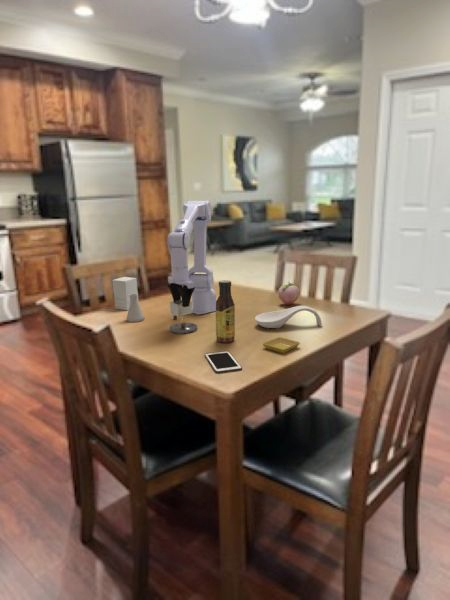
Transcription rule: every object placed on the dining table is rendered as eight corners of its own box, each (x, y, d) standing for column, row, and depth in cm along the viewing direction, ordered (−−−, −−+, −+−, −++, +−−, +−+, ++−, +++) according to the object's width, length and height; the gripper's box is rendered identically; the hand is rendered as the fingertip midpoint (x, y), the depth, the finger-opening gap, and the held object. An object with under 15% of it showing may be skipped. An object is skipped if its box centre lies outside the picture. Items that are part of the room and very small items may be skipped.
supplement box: (139, 306, 195) (137, 277, 192) (127, 310, 189) (124, 281, 186) (126, 304, 199) (124, 276, 196) (114, 308, 193) (111, 279, 190)
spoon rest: (256, 332, 159) (256, 312, 157) (253, 322, 170) (253, 303, 168) (324, 330, 159) (324, 310, 157) (316, 320, 170) (317, 301, 168)
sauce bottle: (228, 344, 146) (227, 284, 141) (212, 341, 149) (210, 282, 145) (239, 338, 152) (237, 280, 147) (223, 335, 155) (221, 278, 150)
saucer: (261, 349, 142) (261, 343, 142) (279, 342, 148) (279, 336, 148) (283, 356, 136) (283, 349, 136) (300, 348, 142) (300, 342, 142)
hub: (188, 323, 170) (187, 312, 168) (202, 330, 162) (202, 317, 160) (164, 329, 164) (163, 317, 163) (178, 335, 156) (177, 323, 155)
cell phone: (216, 375, 124) (215, 371, 124) (204, 356, 138) (203, 353, 138) (243, 371, 126) (243, 368, 126) (228, 353, 140) (228, 350, 140)
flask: (140, 322, 172) (138, 297, 170) (122, 322, 174) (120, 296, 171) (147, 317, 179) (145, 292, 177) (130, 316, 181) (128, 292, 178)
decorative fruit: (284, 301, 197) (285, 278, 195) (302, 303, 193) (302, 280, 190) (274, 306, 190) (274, 282, 188) (291, 309, 185) (291, 285, 183)
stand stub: (175, 318, 176) (175, 314, 176) (177, 319, 175) (177, 315, 175) (172, 319, 175) (172, 315, 175) (174, 320, 174) (174, 316, 174)
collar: (184, 309, 165) (183, 299, 164) (192, 313, 161) (191, 302, 160) (170, 312, 162) (170, 301, 161) (178, 315, 158) (177, 304, 157)
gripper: (159, 265, 161) (161, 302, 165) (180, 271, 150) (182, 311, 153) (177, 263, 165) (178, 299, 168) (198, 268, 154) (199, 307, 157)
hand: (181, 304), depth 161 cm, fingers closed on collar, 6 cm apart
